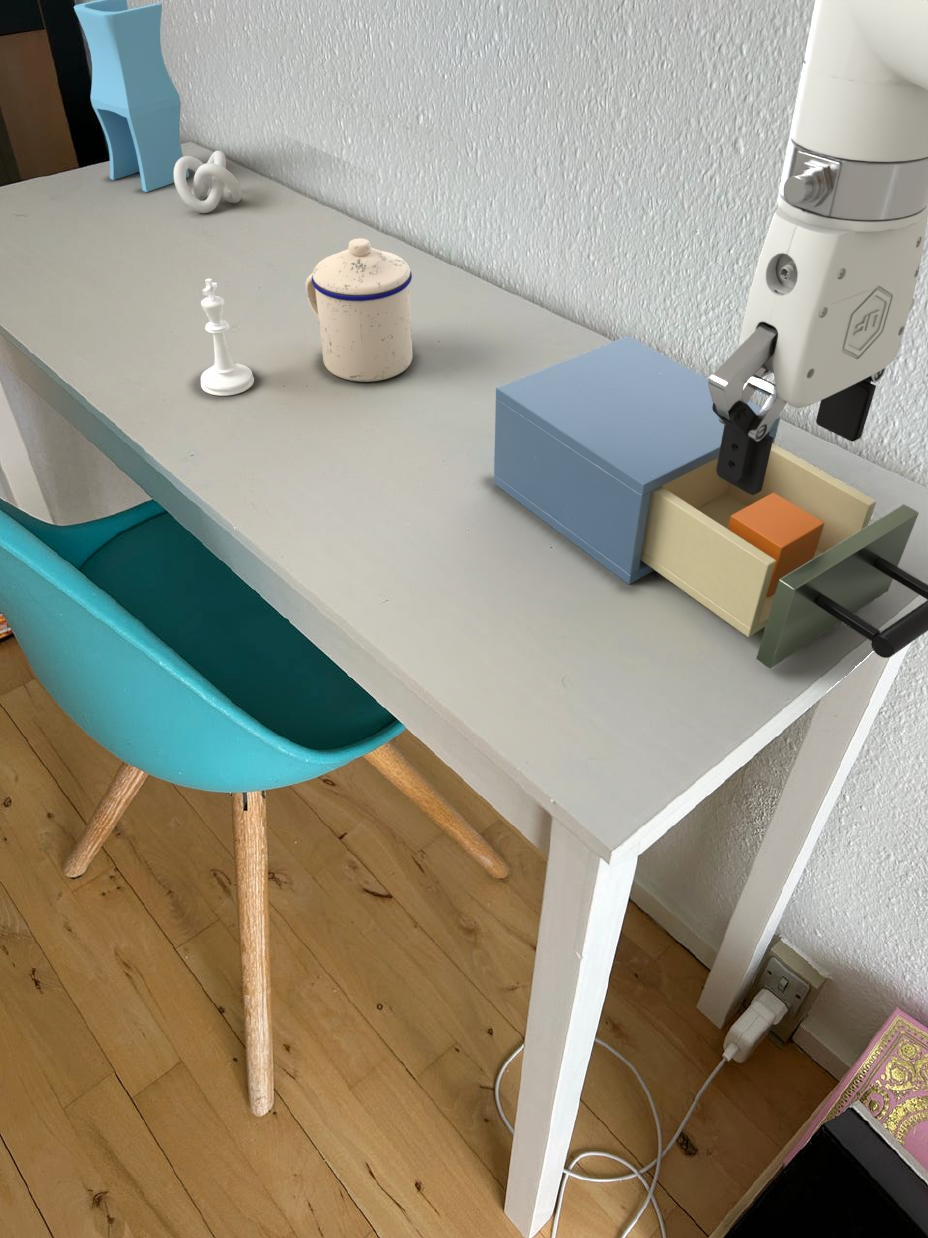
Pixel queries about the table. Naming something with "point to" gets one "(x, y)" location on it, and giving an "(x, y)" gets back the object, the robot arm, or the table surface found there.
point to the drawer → (741, 573)
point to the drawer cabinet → (604, 444)
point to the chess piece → (221, 351)
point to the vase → (133, 90)
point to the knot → (206, 182)
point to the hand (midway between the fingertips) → (789, 457)
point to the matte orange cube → (778, 533)
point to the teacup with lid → (363, 312)
